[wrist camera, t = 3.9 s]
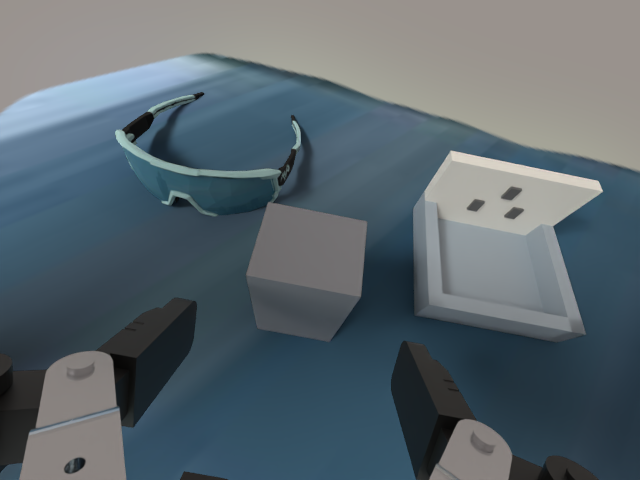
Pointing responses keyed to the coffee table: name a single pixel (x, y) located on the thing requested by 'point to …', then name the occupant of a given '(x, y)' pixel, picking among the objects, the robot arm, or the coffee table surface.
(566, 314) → the socket bay
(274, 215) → the gray rectangular block
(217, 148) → the coffee table surface
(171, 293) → the coffee table surface
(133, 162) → the sunglasses
